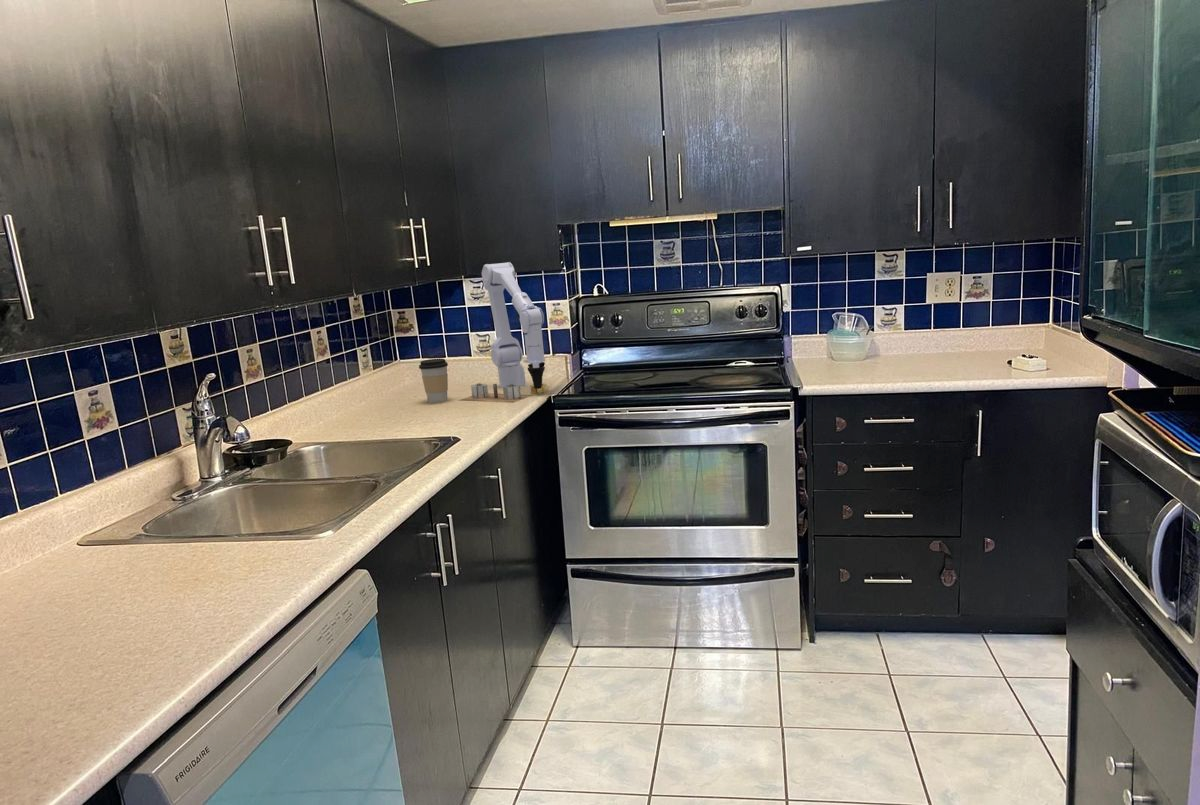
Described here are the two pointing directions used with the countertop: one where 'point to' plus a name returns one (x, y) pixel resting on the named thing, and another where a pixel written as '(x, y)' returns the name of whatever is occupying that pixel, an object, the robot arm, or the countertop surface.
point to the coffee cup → (435, 379)
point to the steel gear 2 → (511, 392)
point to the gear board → (495, 396)
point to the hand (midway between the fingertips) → (538, 386)
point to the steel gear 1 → (479, 391)
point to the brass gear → (538, 391)
